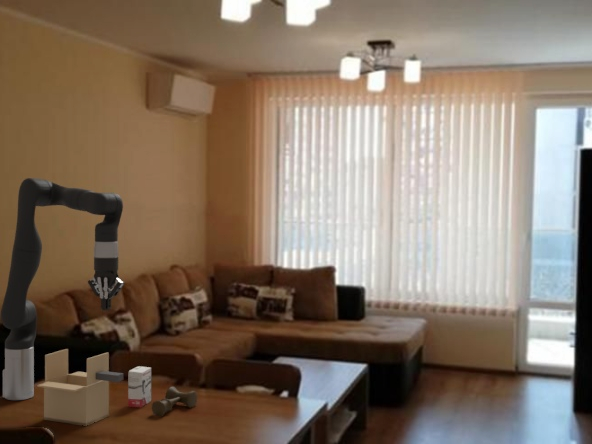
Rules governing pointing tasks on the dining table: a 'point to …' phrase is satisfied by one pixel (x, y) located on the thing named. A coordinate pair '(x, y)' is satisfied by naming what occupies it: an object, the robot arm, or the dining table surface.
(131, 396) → the ink box
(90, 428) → the dining table surface
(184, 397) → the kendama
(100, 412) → the carton
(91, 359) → the flap
